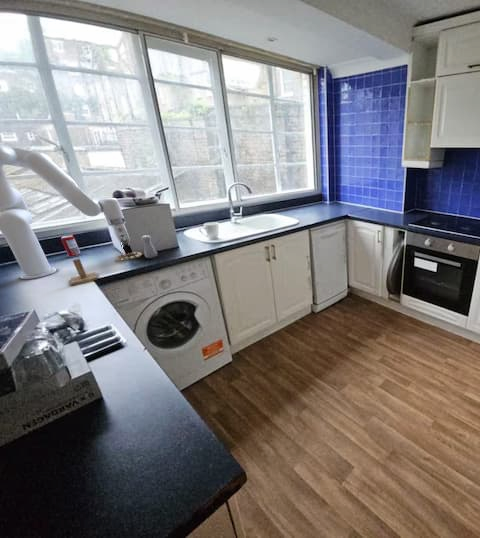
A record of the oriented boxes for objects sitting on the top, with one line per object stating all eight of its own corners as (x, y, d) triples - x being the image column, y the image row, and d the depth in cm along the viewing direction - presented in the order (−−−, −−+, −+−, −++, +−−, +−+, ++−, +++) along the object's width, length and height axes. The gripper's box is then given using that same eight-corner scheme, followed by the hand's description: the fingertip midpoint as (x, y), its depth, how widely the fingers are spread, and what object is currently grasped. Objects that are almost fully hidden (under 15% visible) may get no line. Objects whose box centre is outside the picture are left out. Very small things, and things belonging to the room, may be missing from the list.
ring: (115, 259, 163) (113, 255, 162) (140, 254, 171) (139, 250, 170) (118, 264, 155) (116, 260, 154) (144, 258, 163) (143, 254, 162)
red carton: (72, 254, 173) (64, 235, 169) (83, 253, 174) (75, 234, 170) (66, 257, 168) (57, 237, 164) (77, 256, 170) (69, 236, 165)
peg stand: (71, 280, 138) (62, 259, 134) (96, 274, 143) (88, 254, 140) (72, 285, 132) (62, 264, 128) (97, 279, 137) (89, 259, 133)
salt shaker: (143, 260, 161) (135, 237, 156) (152, 256, 166) (145, 234, 161) (152, 260, 159) (144, 237, 154) (160, 257, 165) (154, 234, 160)
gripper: (127, 222, 155) (138, 252, 162) (122, 217, 167) (133, 246, 173) (109, 225, 150) (121, 256, 157) (105, 220, 162) (117, 249, 169)
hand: (127, 251), depth 165 cm, fingers open, 9 cm apart
